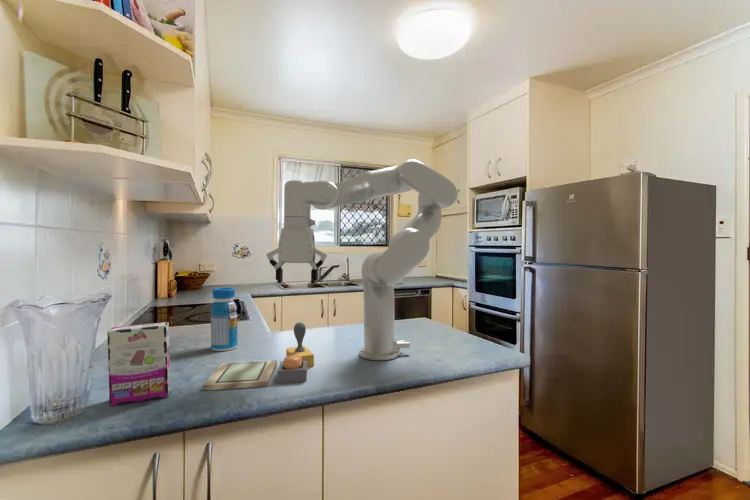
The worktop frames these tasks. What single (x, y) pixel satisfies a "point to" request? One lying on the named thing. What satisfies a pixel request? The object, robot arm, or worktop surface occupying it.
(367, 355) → the robot arm
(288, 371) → the button housing
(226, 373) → the picture board
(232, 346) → the beverage bottle
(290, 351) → the rubber stamp
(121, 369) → the candy bar box
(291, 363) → the button
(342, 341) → the worktop surface
